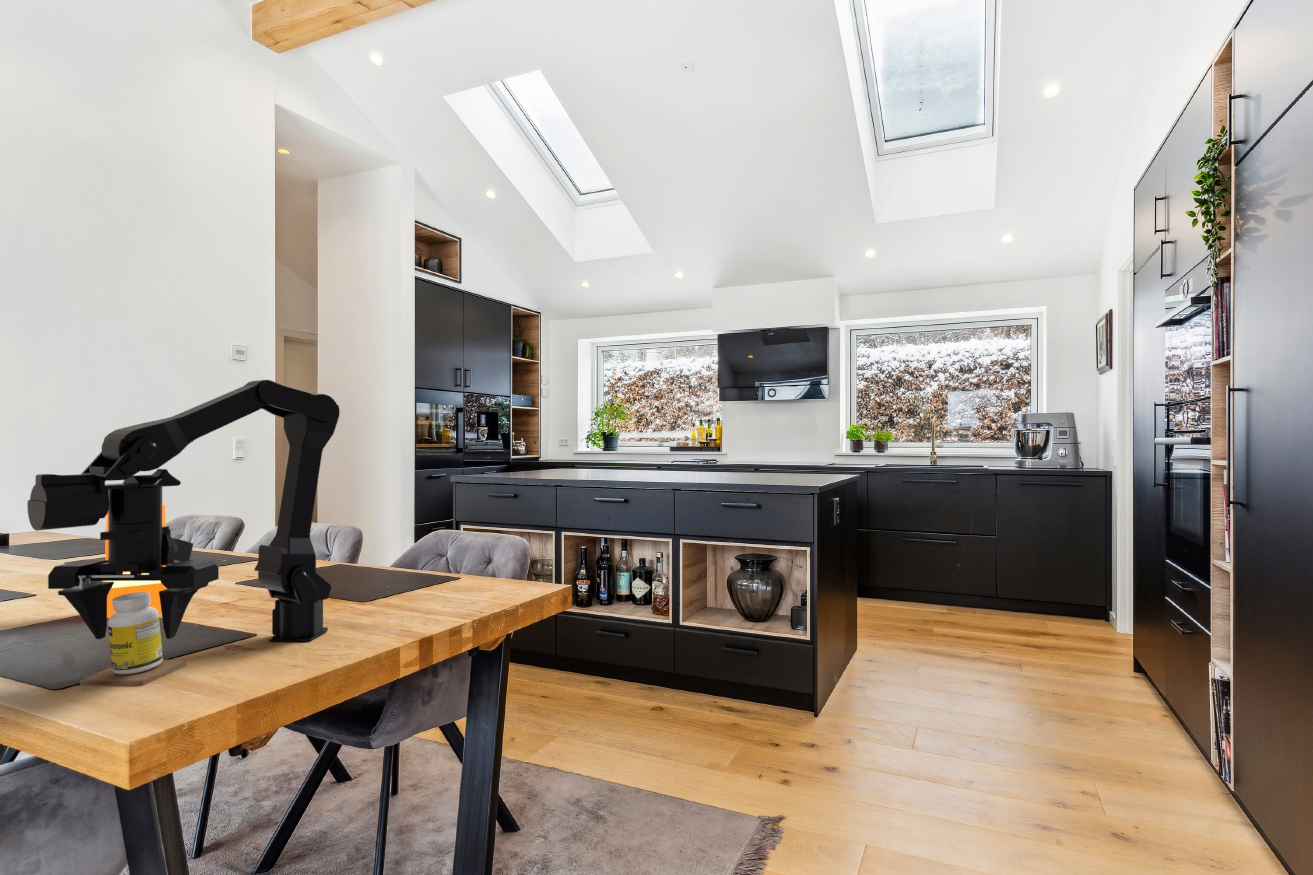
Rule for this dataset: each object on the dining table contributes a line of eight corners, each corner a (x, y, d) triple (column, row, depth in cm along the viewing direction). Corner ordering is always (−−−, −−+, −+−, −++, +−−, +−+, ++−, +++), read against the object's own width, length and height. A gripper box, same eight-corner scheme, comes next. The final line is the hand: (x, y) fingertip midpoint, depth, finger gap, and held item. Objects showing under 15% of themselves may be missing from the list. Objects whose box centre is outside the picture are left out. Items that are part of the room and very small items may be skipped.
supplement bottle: (102, 673, 88) (95, 600, 88) (146, 657, 93) (140, 588, 93) (129, 677, 86) (122, 603, 86) (172, 661, 91) (166, 591, 91)
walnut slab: (186, 677, 93) (186, 659, 93) (143, 699, 85) (143, 680, 85) (128, 677, 93) (128, 659, 93) (79, 700, 85) (79, 680, 85)
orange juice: (106, 613, 124) (106, 506, 124) (165, 606, 130) (165, 503, 130) (104, 622, 118) (104, 509, 118) (166, 614, 123) (166, 506, 123)
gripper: (242, 514, 98) (242, 621, 98) (112, 514, 97) (112, 621, 97) (191, 524, 86) (191, 645, 86) (44, 524, 86) (44, 645, 86)
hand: (135, 638), depth 89 cm, fingers open, 9 cm apart
